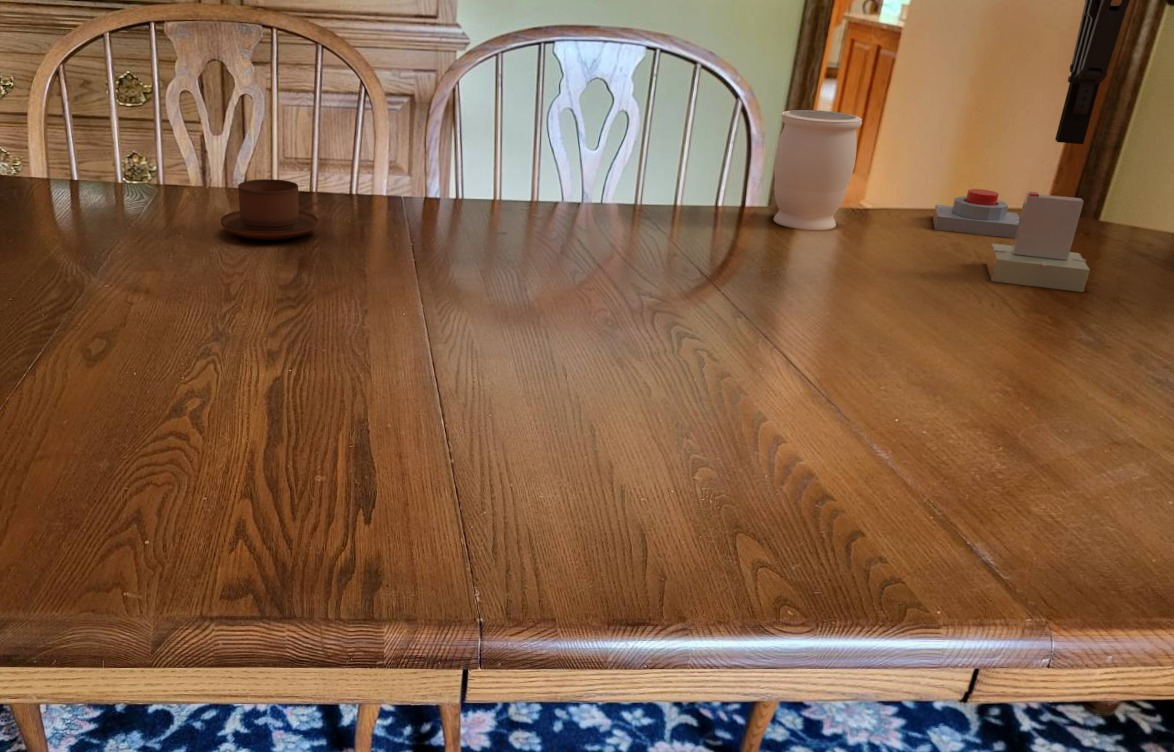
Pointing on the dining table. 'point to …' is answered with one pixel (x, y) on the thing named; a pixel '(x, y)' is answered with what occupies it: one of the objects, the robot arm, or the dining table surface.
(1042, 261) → the base
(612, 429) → the dining table surface
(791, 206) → the jar
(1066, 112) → the robot arm
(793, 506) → the dining table surface
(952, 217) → the button box
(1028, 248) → the grey flat slab
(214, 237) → the dining table surface
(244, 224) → the cup and saucer
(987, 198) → the button
